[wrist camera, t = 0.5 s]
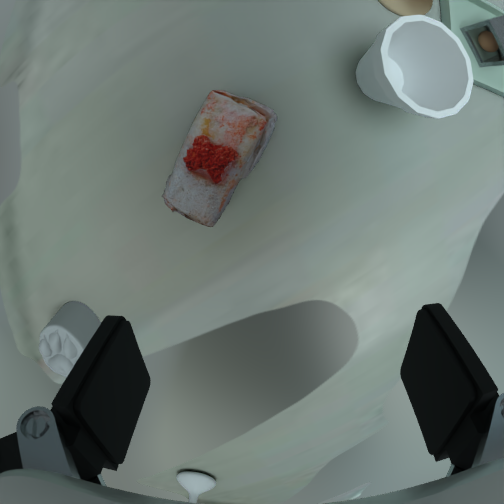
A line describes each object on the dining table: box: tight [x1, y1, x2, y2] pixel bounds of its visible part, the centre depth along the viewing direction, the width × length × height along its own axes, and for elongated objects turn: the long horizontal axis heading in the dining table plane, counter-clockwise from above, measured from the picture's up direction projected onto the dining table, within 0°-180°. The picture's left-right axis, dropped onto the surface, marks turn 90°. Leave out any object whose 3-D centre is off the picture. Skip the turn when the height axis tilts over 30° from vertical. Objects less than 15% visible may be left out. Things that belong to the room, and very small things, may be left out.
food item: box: [162, 90, 277, 227], centre depth 31 cm, size 14×8×10 cm, turn 155°
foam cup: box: [355, 15, 474, 118], centre depth 25 cm, size 10×9×13 cm
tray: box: [440, 0, 504, 97], centre depth 25 cm, size 14×18×2 cm
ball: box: [478, 31, 499, 52], centre depth 24 cm, size 3×3×3 cm
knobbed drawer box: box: [460, 15, 504, 67], centre depth 22 cm, size 6×6×8 cm
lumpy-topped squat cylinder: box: [39, 301, 101, 378], centre depth 45 cm, size 10×13×9 cm
